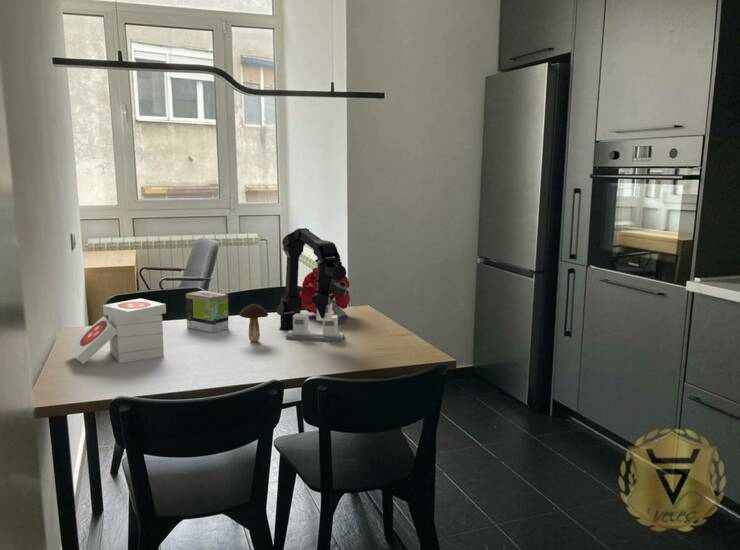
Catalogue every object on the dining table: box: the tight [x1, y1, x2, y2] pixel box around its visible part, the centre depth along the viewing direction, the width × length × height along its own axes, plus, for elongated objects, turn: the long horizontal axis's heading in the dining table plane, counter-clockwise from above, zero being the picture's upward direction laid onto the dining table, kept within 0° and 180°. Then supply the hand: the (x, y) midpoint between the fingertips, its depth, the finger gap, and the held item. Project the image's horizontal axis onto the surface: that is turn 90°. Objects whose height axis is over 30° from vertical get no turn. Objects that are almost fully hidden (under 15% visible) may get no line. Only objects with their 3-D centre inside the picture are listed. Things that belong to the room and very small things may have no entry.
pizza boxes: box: [69, 298, 167, 365], centre depth 207 cm, size 19×30×18 cm, turn 124°
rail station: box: [285, 312, 345, 343], centre depth 236 cm, size 22×8×9 cm, turn 83°
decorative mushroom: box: [238, 303, 269, 343], centre depth 228 cm, size 11×11×15 cm
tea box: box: [185, 290, 229, 334], centre depth 247 cm, size 15×10×15 cm
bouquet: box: [299, 266, 351, 324], centre depth 268 cm, size 22×24×30 cm
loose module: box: [315, 302, 333, 322], centre depth 225 cm, size 5×5×6 cm
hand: (324, 316), depth 225 cm, fingers closed on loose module, 5 cm apart
